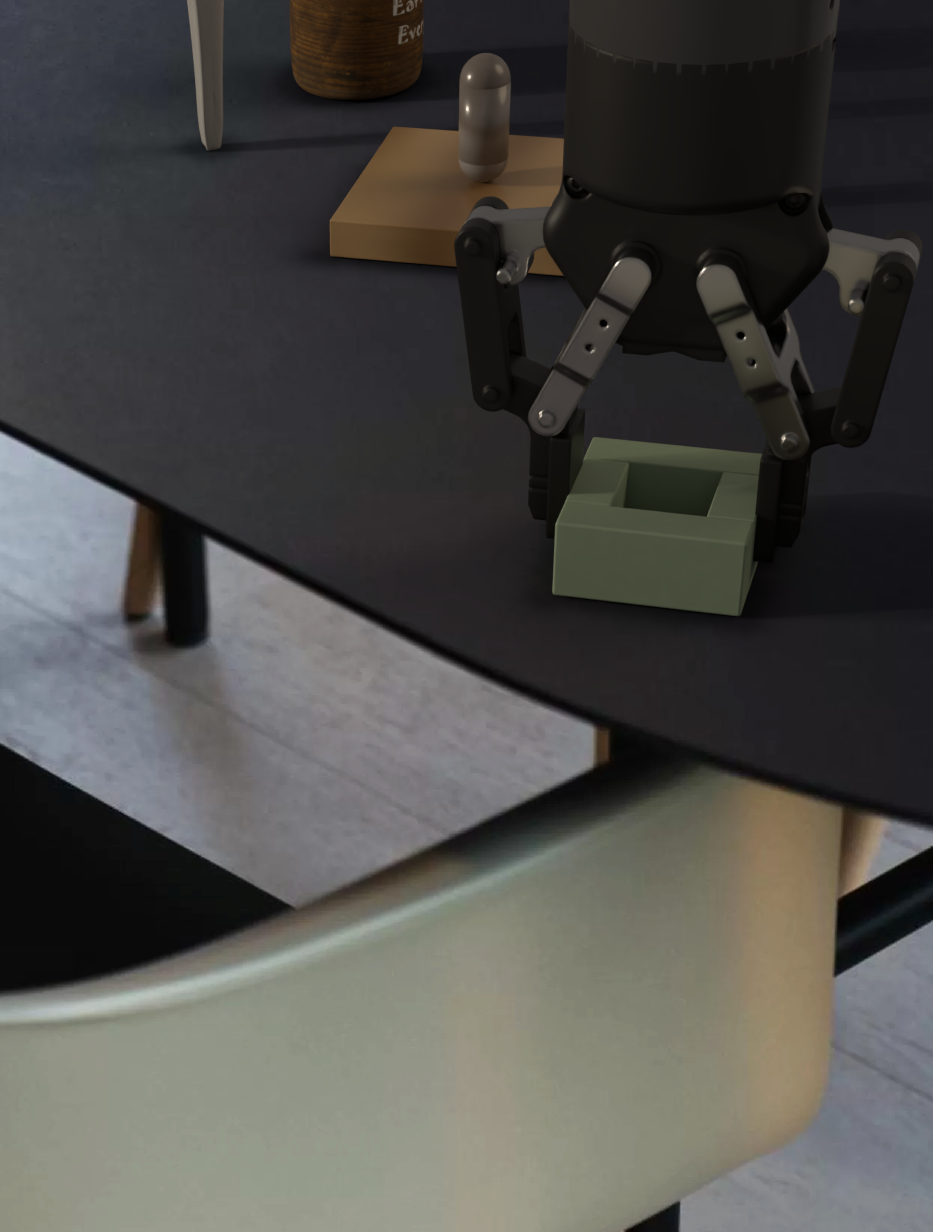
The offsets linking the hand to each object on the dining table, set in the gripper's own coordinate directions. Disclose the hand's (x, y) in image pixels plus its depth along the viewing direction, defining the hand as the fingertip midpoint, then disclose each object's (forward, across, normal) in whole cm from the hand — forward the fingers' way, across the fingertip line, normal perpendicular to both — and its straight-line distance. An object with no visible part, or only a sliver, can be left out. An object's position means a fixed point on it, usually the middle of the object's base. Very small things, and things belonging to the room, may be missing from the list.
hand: (664, 537), depth 87 cm
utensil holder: (+1, -21, +40) cm, 45 cm away
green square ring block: (+1, 0, 0) cm, 1 cm away
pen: (+1, -25, +31) cm, 40 cm away
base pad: (+1, -12, +26) cm, 29 cm away
